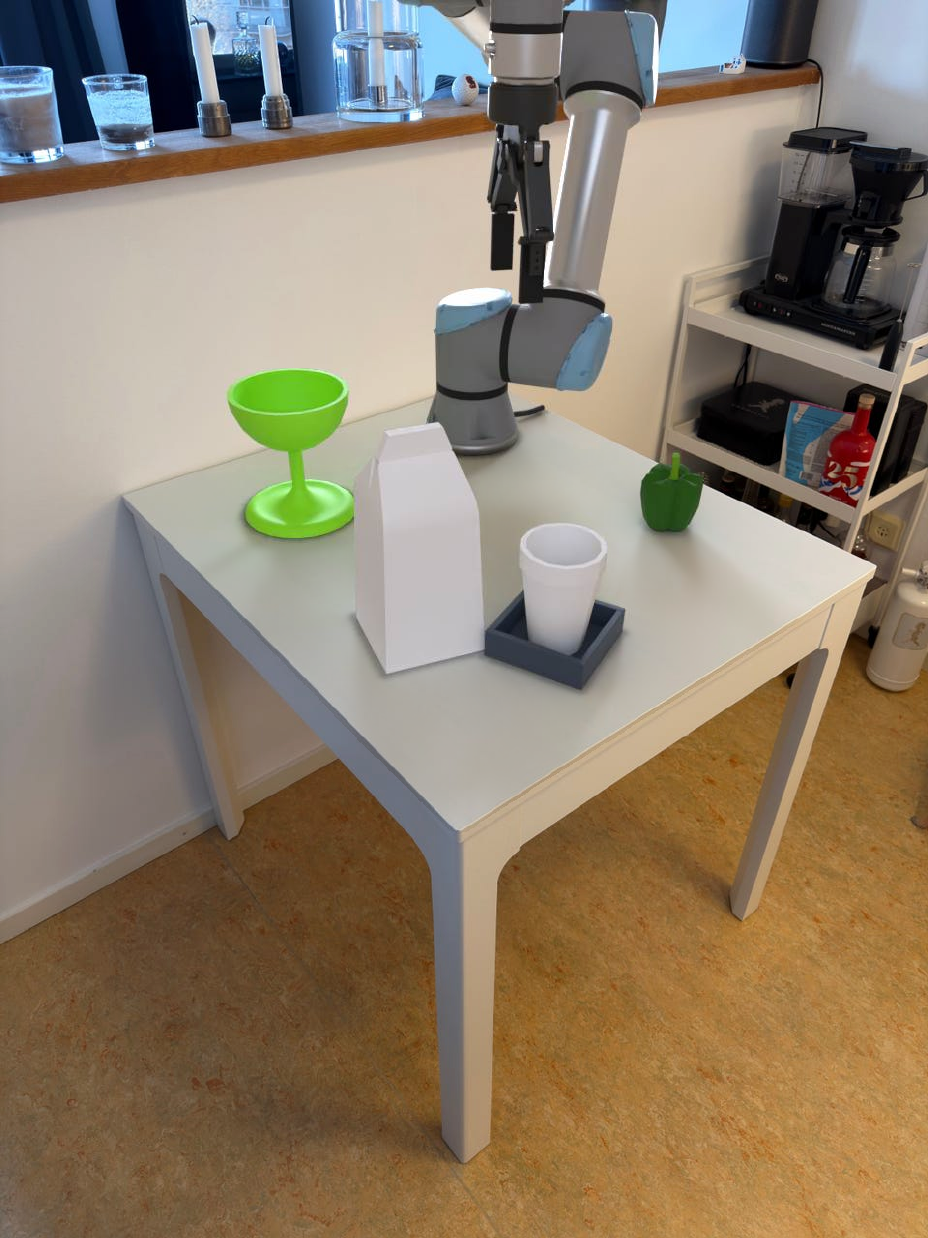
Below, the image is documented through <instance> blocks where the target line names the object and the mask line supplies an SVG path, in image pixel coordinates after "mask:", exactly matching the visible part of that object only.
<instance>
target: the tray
mask: <svg viewBox="0 0 928 1238" xmlns="http://www.w3.org/2000/svg"><path fill="white" fill-rule="evenodd" d="M625 614H626V608H624V607H621V606H618V605H615V604H612V603H608V602H606V601H602V600H600V599H596V598H595V601H594V605H593V609H592V612H591V616H590V619H589V623H588V626H587V630H586V634H585V637H584V641H583V642H582V646H581V647H580V649H579V650H578V651H577V652H575V653H573V654H571V655H566V654H563V653H561V652H558V651H555V650H552V649H549V648H546V647H543V646H540V645H538V644H535V643H532V642H529V639H528V631H527V620H526V609H525V599H524V588H523V589H522V590H521V591H520V592H519V593H518V595H517V596H516V597H514V599H513V600H512V601H511V602H510V603H509V604H508V606H507V607H505V608H504V610H503V611H502V612H501V613H500V614H499V615H498V616H497V618H495V619H494V621H492V623H491V624H490V625H489V626H488V627H487V628H486V629H485V630H484V639H485V650H484V656H486V657H489V658H491V659H494V660H497V661H500V662H503V663H506V664H508V665H511V666H514V667H516V668H519V669H521V670H525V671H528V672H531V673H533V674H536V675H538V676H542V677H543V678H547V679H550V680H553V681H555V682H557V683H560V684H564V685H566V686H569V687H571V688H573V689H574V688H575V689H577V690H579V691H581V690H582V689H583V688H584V686H585V685H586V684H587V682H588V681H589V680H590V678H591V677H592V676H593V674H594V672H595V671H596V670H597V669H598V667H599V665H600V664H601V663H602V661H603V660H604V658H605V657H606V656H607V654H608V653H609V652H610V650H611V649H612V647H614V645H615V643H616V642H617V640H618V639H619V637H620V636H621V635H622V633H623V630H624V621H625Z"/></svg>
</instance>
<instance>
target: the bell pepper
mask: <svg viewBox="0 0 928 1238" xmlns="http://www.w3.org/2000/svg"><path fill="white" fill-rule="evenodd" d="M703 487H704V480H703V477H702V475H700V474H698V473H692V472H691V469H690V468H688V467H687V465H685V464H683V463H681V454H680V453H679V452H673V453H672V462H671V465H669V464H666V463H663V462H658V463H657V464H655V465H654V466H652V467H651V469H650V470H649V472H647V473H646V474H645V475H644V476H643V478H642V479H641V482H640V490H639V498H640V507H641V513H642V517H643V519H644V521H645V523H646V524H647V526H648V527H650V528H651V529H653V530H655V531H659V532H660V531H661V532H666V531H667V530H670V531H674V532H682V531H683V530H685V529H687V528H688V526H690V524H691V523H692V521H693V520H694V517H695V515H696V512H697V511H698V508H699V505H700V501H701V497H702V491H703Z"/></svg>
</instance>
